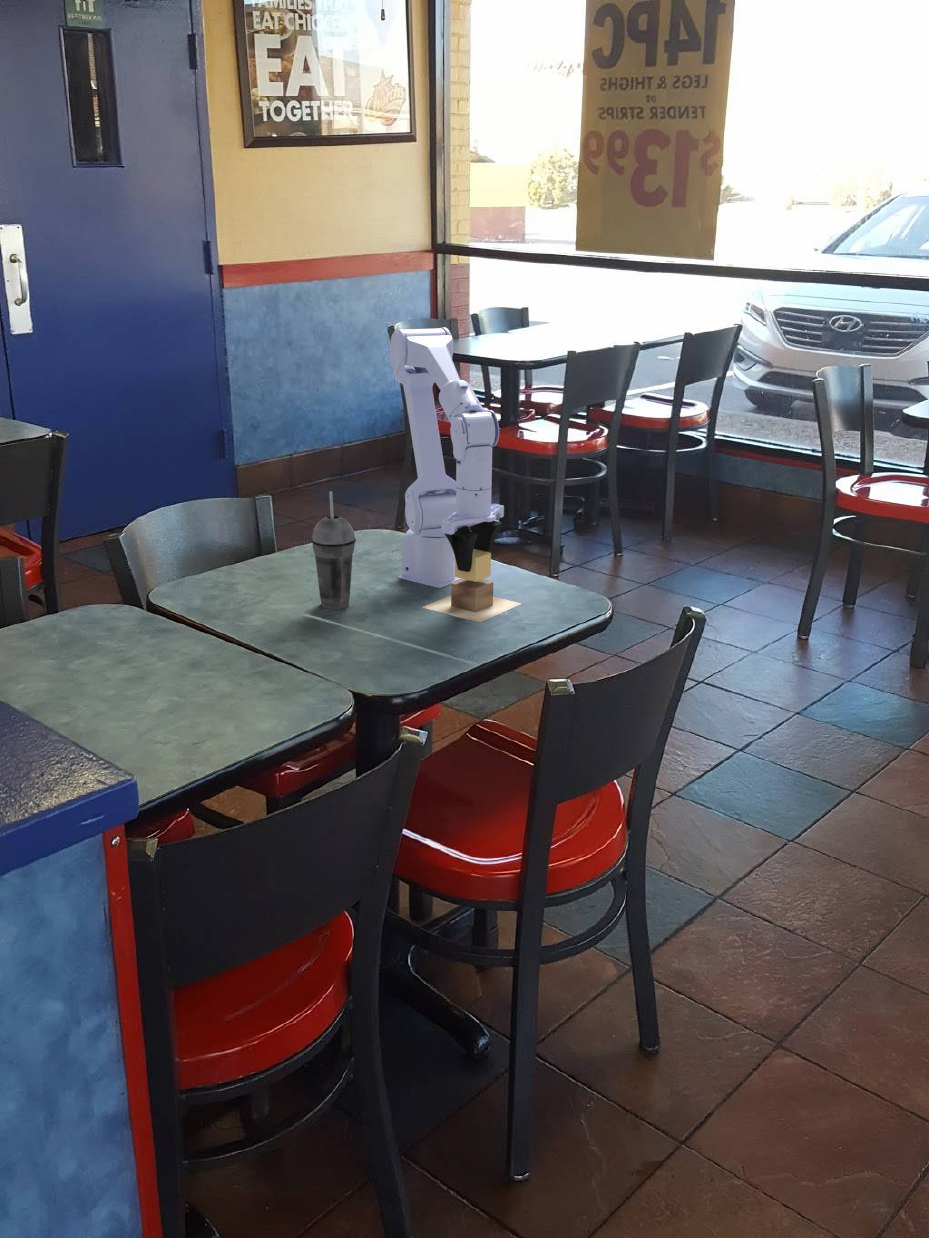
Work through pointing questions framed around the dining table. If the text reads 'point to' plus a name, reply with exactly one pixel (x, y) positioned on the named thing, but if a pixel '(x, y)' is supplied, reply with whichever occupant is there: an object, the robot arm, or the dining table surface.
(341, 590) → the beverage cup
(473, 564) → the ochre block
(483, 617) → the build board
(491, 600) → the walnut block
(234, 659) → the dining table surface
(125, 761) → the dining table surface
